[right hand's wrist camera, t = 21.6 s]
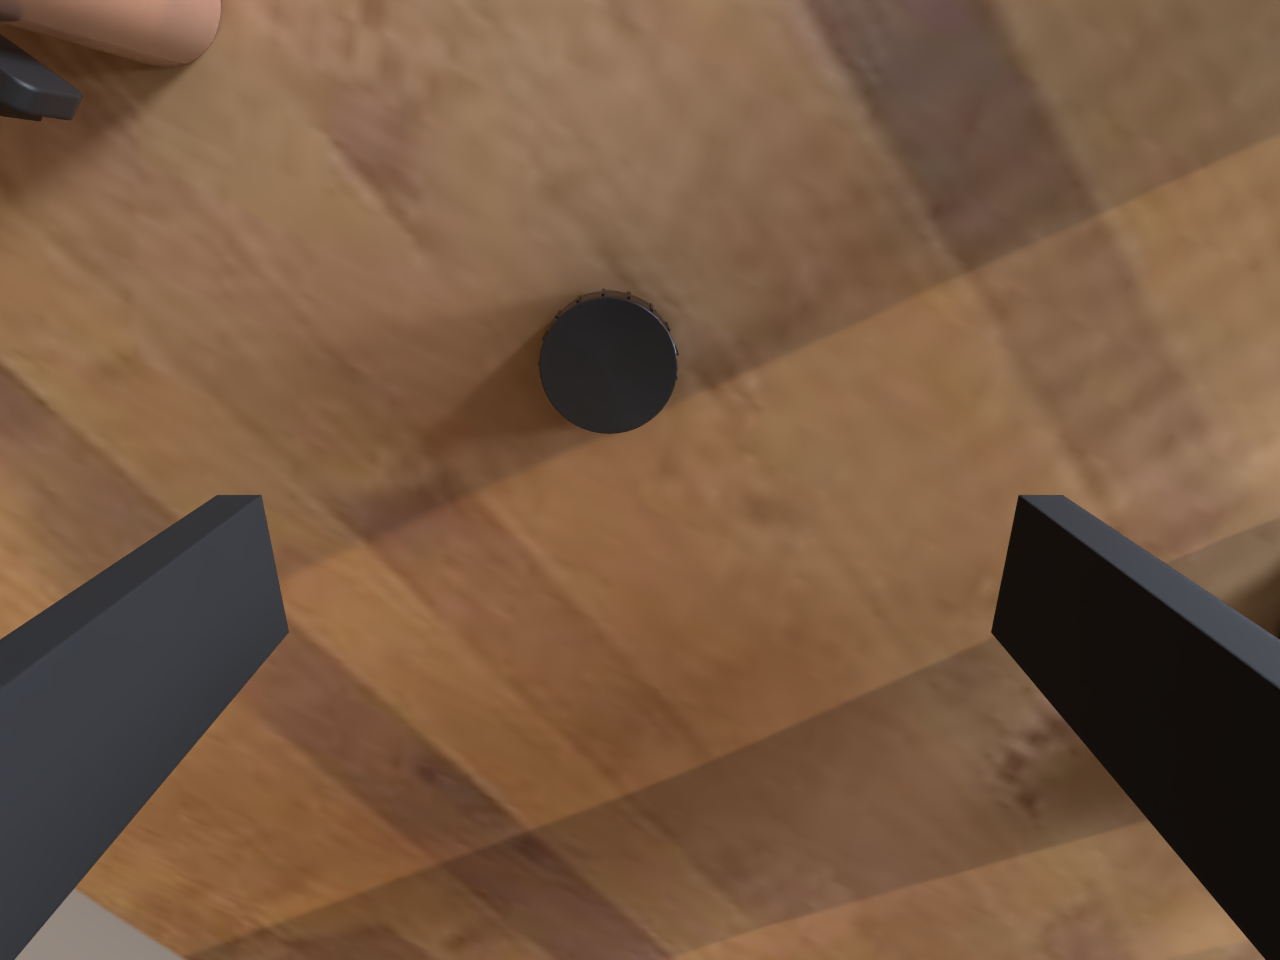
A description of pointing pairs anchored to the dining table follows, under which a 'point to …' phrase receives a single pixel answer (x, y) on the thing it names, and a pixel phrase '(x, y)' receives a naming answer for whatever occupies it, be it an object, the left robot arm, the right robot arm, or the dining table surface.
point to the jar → (123, 26)
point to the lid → (608, 362)
